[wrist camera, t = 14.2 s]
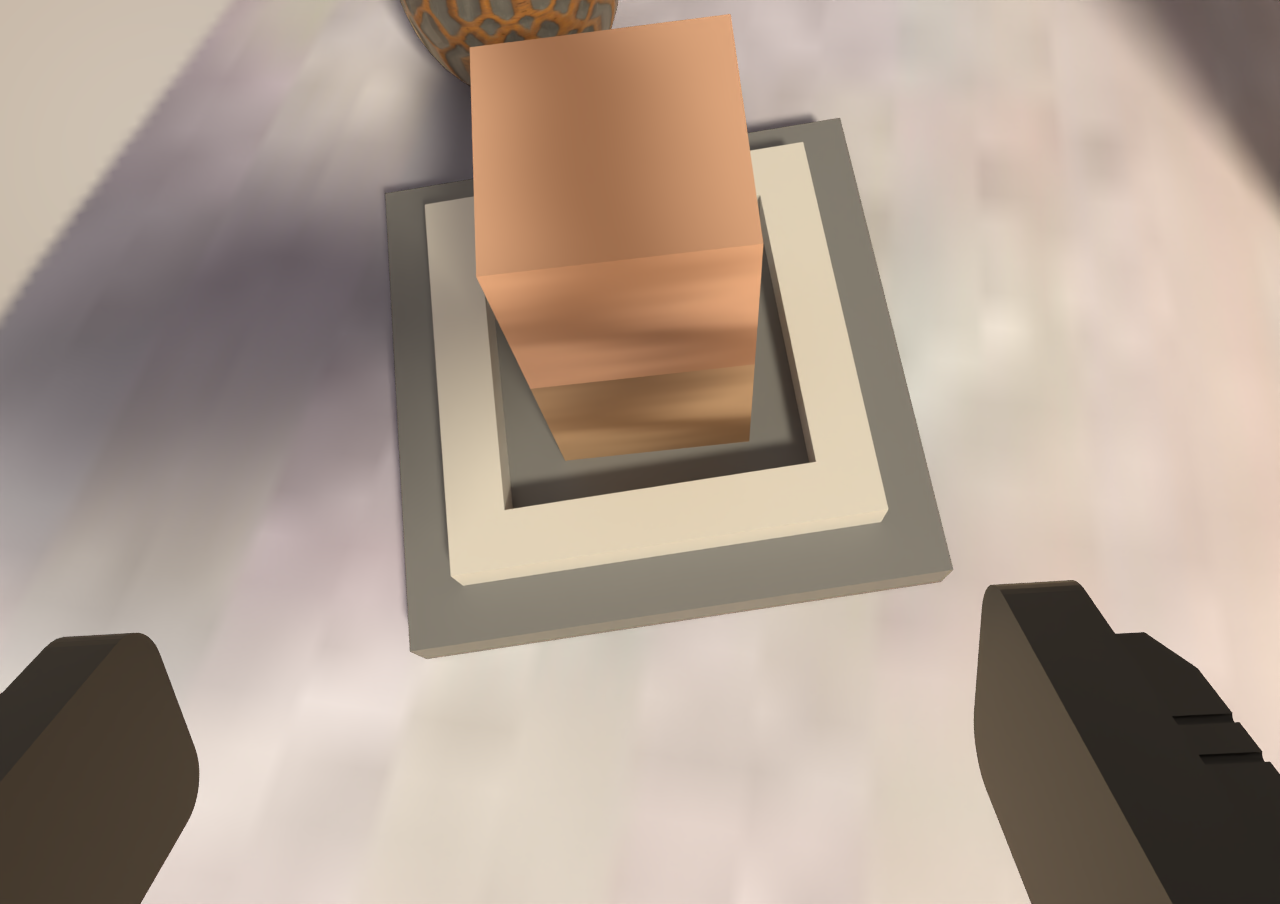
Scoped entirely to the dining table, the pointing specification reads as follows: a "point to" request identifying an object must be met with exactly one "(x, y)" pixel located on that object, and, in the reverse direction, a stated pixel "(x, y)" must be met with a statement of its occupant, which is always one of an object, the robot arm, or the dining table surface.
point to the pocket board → (669, 479)
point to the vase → (499, 24)
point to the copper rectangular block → (621, 231)
